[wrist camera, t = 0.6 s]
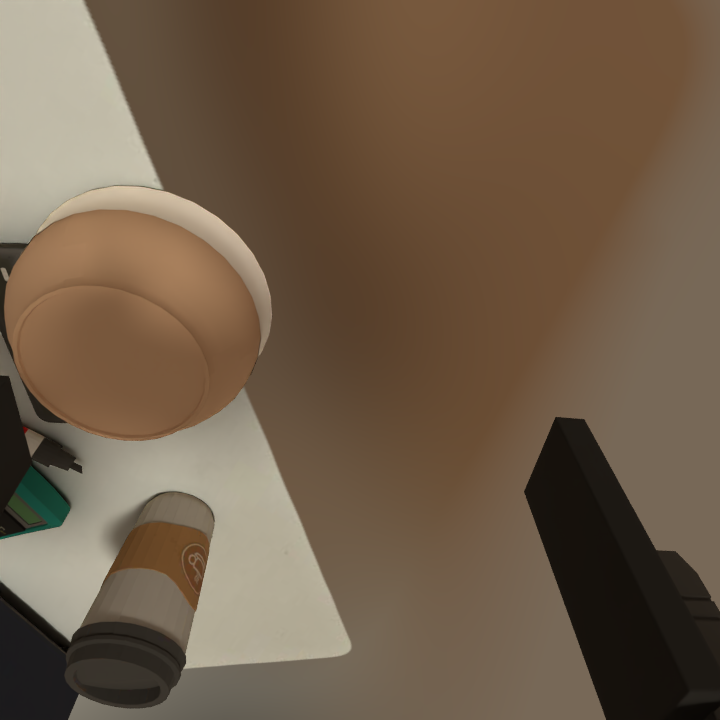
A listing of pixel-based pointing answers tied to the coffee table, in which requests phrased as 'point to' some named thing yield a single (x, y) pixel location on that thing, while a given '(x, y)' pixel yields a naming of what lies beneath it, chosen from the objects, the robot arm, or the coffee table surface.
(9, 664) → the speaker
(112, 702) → the coffee cup
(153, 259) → the bowl
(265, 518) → the coffee table surface
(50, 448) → the marker
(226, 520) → the coffee table surface
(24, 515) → the digital multimeter
